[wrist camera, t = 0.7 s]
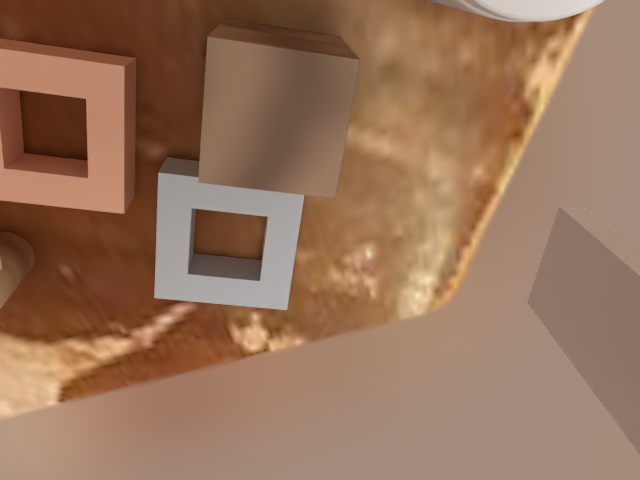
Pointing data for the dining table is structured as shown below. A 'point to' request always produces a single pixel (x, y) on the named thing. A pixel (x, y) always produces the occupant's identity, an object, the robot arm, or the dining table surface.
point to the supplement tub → (522, 8)
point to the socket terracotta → (102, 127)
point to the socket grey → (220, 271)
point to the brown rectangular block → (275, 108)
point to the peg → (14, 263)
